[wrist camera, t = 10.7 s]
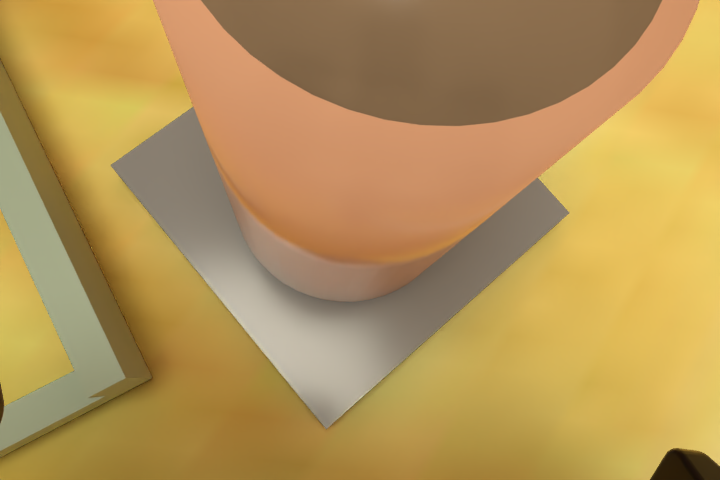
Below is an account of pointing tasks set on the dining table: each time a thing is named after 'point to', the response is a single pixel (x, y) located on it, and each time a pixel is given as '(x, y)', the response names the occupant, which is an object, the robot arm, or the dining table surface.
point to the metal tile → (306, 313)
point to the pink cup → (399, 116)
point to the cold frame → (59, 287)
